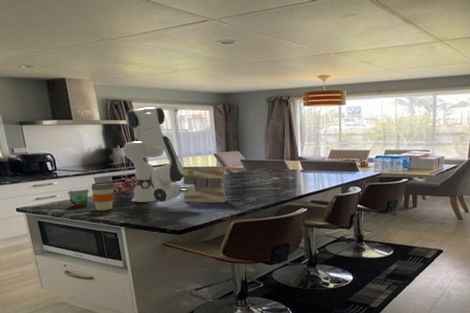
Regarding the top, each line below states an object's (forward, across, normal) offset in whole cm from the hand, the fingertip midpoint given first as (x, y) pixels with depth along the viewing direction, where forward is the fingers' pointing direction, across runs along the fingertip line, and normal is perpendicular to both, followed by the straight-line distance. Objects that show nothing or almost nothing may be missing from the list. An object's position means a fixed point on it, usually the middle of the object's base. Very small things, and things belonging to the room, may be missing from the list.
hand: (182, 186), depth 213 cm
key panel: (+16, -8, +12) cm, 22 cm away
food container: (-5, +67, +12) cm, 68 cm away
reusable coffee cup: (-12, +46, +12) cm, 49 cm away
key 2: (+15, -16, +2) cm, 22 cm away
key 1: (+13, 0, +3) cm, 14 cm away
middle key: (+13, -8, +3) cm, 16 cm away
